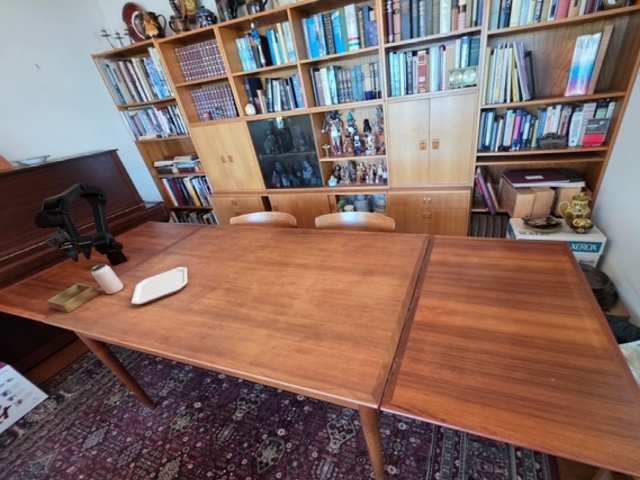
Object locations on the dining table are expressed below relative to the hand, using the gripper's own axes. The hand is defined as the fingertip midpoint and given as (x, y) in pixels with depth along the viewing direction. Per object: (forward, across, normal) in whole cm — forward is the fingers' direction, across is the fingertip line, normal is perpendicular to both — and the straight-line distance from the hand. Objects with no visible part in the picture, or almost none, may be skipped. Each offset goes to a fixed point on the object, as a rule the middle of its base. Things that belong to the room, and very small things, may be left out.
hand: (82, 260), depth 132 cm
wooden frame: (+16, +2, -9) cm, 18 cm away
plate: (+18, +39, +3) cm, 43 cm away
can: (+15, +15, 0) cm, 21 cm away
